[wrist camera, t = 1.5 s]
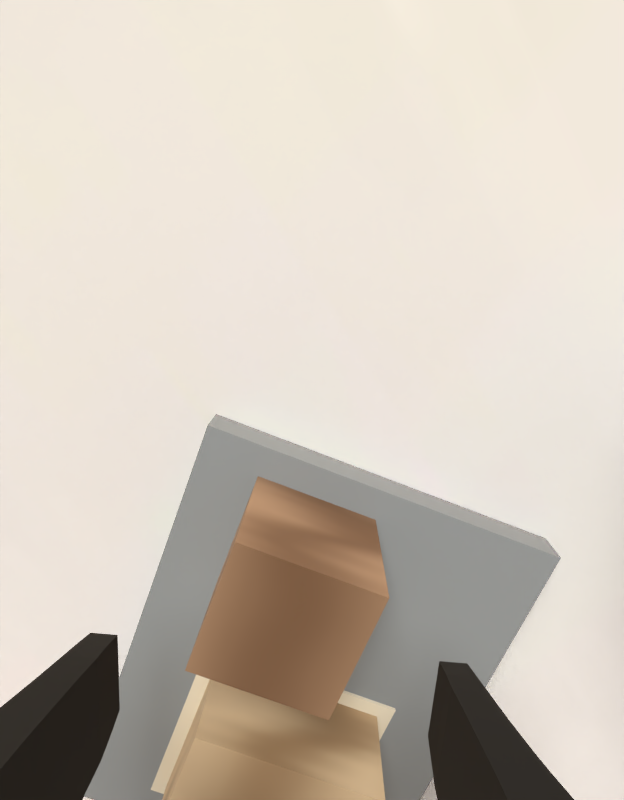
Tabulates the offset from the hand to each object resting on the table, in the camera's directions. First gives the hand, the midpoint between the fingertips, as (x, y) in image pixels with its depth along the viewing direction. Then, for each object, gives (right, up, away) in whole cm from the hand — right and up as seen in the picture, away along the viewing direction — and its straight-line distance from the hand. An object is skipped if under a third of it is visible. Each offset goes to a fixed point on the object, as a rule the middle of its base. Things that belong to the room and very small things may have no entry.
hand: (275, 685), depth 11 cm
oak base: (-1, -7, +7) cm, 10 cm away
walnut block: (0, +1, +5) cm, 6 cm away
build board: (0, -4, +8) cm, 9 cm away
